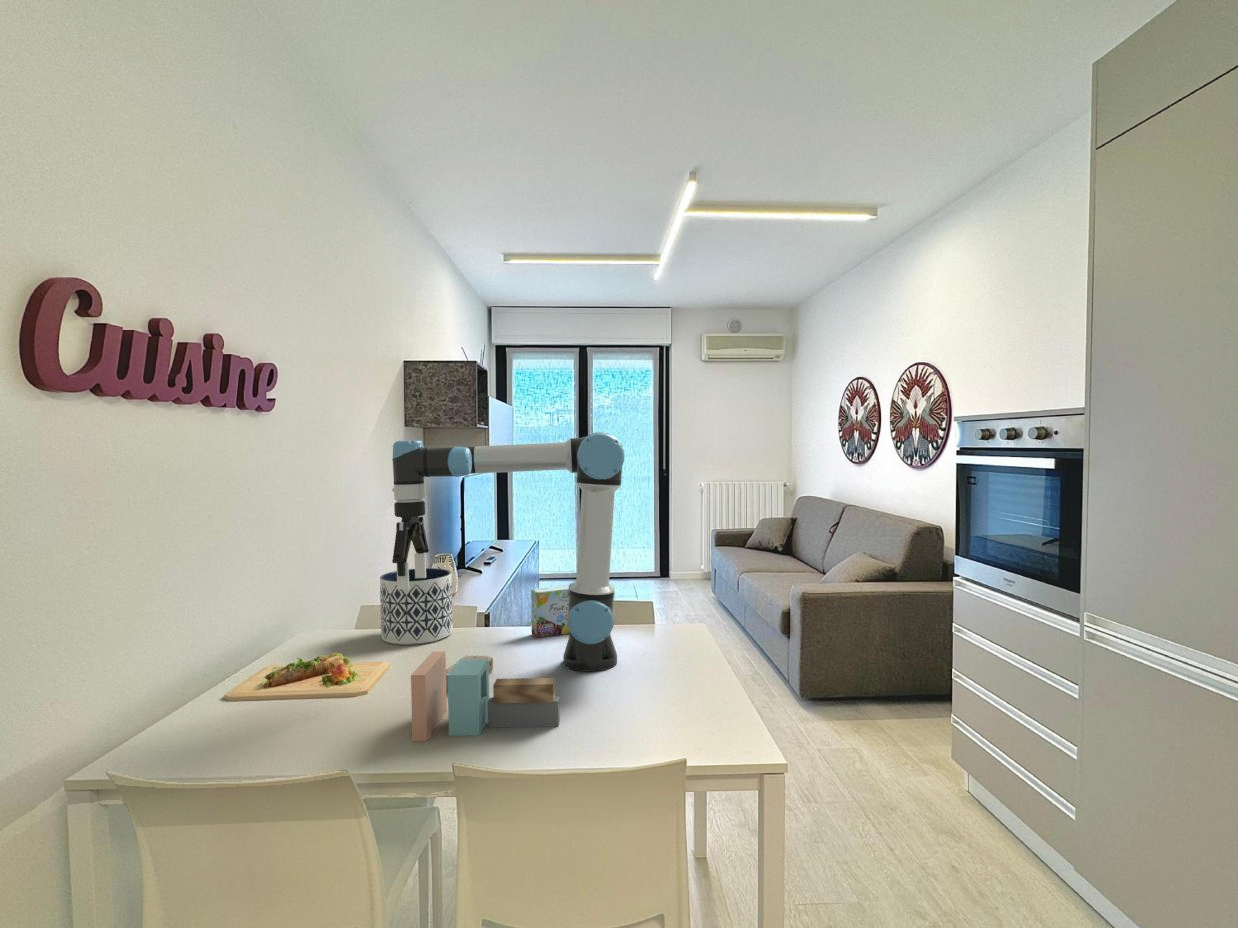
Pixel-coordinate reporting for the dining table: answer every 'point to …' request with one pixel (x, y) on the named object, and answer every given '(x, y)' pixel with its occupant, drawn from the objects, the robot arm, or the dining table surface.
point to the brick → (490, 659)
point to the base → (428, 695)
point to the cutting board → (311, 679)
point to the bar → (524, 690)
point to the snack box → (549, 611)
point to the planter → (416, 608)
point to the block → (468, 696)
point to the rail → (523, 714)
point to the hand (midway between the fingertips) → (412, 583)
